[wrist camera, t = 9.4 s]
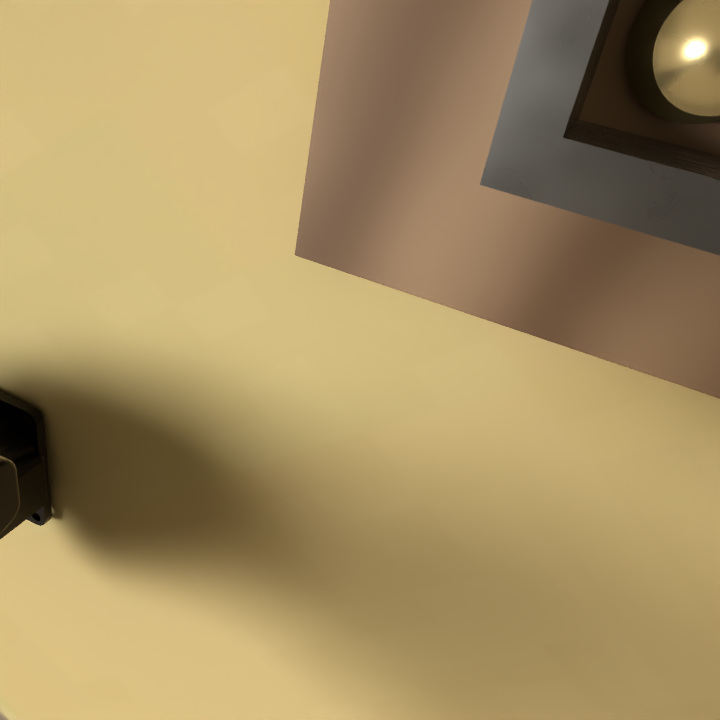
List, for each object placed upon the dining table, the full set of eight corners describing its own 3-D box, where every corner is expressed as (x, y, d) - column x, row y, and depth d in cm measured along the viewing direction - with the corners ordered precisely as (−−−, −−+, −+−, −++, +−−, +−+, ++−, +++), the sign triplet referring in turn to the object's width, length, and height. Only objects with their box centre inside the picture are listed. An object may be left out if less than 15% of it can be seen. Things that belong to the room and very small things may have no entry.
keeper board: (313, 243, 19) (294, 254, 18) (421, -460, 12) (400, -504, 11) (920, 443, 15) (939, 472, 14) (1598, -418, 8) (1729, -481, 7)
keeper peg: (605, 102, 14) (590, 124, 10) (660, -52, 12) (661, -82, 9) (745, 136, 13) (775, 172, 10) (819, -23, 12) (885, -45, 8)
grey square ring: (508, 159, 15) (479, 184, 13) (607, -168, 12) (594, -220, 9) (786, 237, 14) (815, 283, 11) (978, -111, 11) (1079, -155, 8)
